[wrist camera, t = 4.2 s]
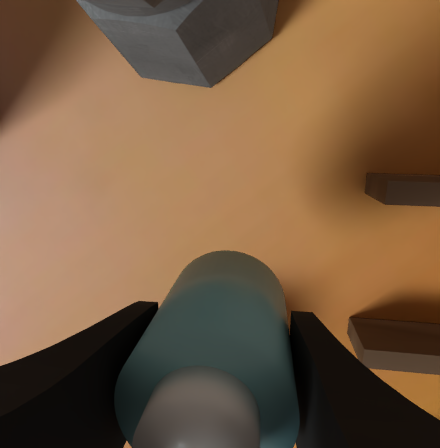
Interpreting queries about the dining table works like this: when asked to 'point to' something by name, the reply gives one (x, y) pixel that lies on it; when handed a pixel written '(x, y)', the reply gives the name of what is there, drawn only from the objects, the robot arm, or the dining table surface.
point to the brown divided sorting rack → (399, 330)
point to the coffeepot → (184, 35)
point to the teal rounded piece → (213, 363)
